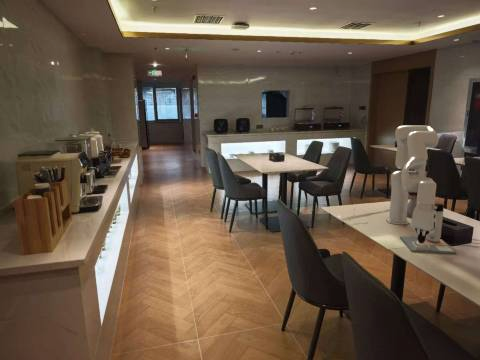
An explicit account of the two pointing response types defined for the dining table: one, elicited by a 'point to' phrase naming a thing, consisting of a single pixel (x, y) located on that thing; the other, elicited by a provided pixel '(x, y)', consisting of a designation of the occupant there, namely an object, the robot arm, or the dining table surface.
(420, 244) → the button
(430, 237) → the travel mug
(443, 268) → the dining table surface
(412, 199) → the coffee pot
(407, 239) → the picture board
